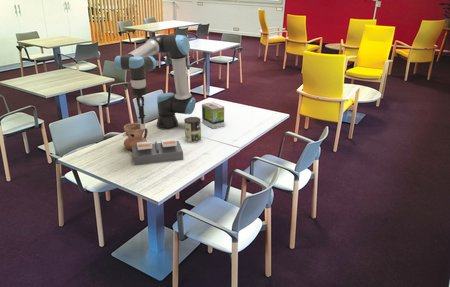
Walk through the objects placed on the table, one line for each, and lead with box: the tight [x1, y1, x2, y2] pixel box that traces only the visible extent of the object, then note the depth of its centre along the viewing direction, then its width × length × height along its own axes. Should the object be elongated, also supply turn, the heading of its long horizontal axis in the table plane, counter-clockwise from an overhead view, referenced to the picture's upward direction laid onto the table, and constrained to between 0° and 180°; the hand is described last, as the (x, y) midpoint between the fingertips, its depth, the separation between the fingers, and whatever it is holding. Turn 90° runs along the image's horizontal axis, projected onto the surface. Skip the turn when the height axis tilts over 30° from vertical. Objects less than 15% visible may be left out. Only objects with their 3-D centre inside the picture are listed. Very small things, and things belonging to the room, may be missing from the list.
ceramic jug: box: [122, 122, 149, 151], centre depth 226 cm, size 18×14×14 cm
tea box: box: [201, 101, 225, 130], centre depth 262 cm, size 15×10×15 cm, turn 34°
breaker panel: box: [131, 140, 184, 166], centre depth 216 cm, size 16×28×7 cm, turn 105°
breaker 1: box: [137, 140, 153, 150], centre depth 212 cm, size 14×8×2 cm, turn 15°
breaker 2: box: [160, 138, 177, 147], centre depth 215 cm, size 14×8×2 cm, turn 15°
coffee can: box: [183, 116, 202, 144], centre depth 237 cm, size 10×10×14 cm
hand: (143, 128), depth 203 cm, fingers closed
